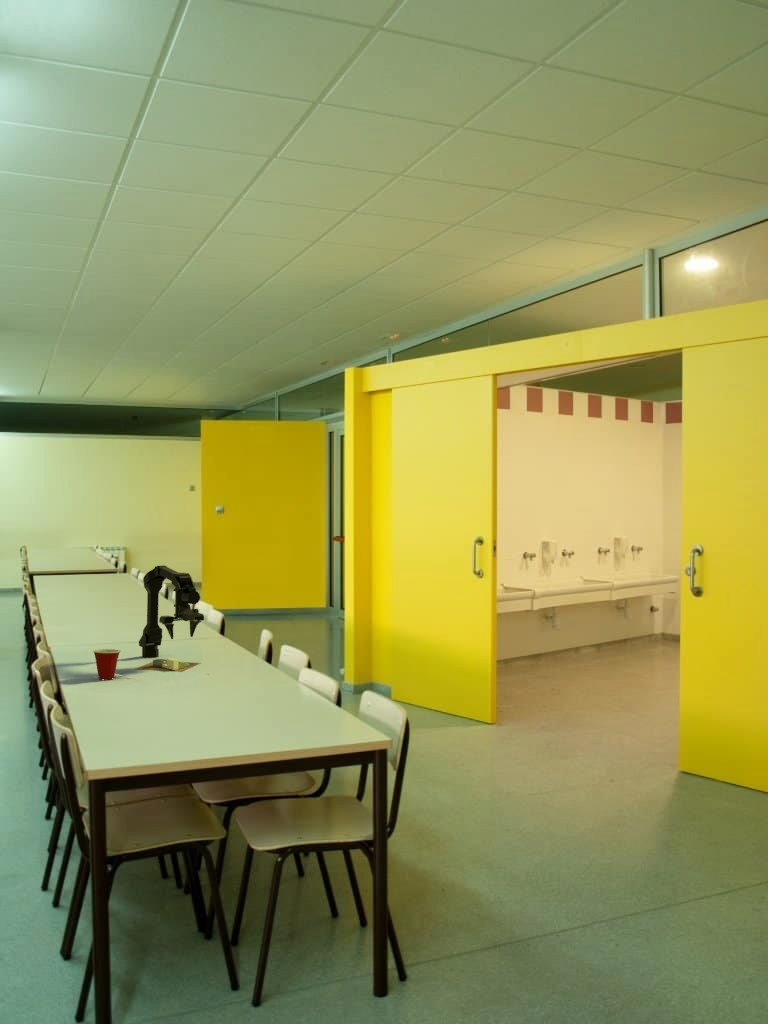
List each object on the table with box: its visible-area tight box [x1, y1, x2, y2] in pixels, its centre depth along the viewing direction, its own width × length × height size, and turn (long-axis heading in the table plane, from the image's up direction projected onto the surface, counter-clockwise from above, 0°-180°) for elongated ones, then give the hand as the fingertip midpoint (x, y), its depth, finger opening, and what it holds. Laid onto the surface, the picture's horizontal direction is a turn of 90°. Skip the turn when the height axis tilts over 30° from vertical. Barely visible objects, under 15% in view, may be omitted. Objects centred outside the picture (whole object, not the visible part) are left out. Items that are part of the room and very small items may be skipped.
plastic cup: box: [93, 648, 122, 681], centre depth 353 cm, size 11×11×12 cm
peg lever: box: [152, 657, 179, 670], centre depth 370 cm, size 15×6×4 cm, turn 48°
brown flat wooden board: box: [135, 661, 202, 673], centre depth 374 cm, size 22×20×1 cm
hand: (181, 638), depth 375 cm, fingers open, 9 cm apart
